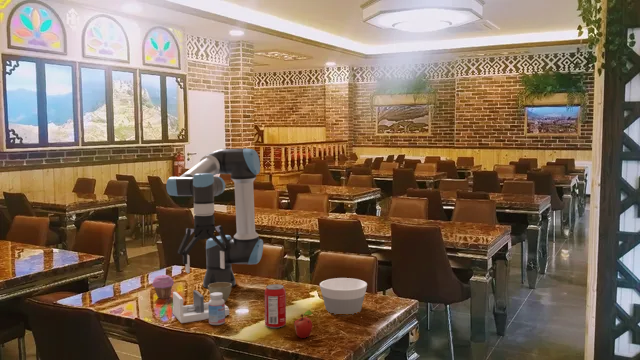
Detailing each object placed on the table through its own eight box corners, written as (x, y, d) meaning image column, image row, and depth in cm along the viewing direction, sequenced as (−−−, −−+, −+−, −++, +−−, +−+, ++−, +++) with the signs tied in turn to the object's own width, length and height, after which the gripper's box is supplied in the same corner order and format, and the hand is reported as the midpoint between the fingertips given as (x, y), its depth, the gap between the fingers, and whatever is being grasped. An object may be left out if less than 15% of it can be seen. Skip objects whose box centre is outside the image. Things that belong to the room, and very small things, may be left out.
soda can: (268, 330, 209) (268, 290, 208) (262, 324, 216) (261, 285, 215) (289, 327, 212) (288, 287, 211) (281, 321, 219) (281, 282, 218)
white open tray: (219, 306, 239) (218, 285, 238) (229, 315, 227) (229, 293, 226) (172, 313, 230) (172, 291, 229) (181, 323, 218) (180, 299, 217)
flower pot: (236, 299, 250) (235, 282, 249) (225, 305, 240) (224, 288, 240) (215, 297, 253) (215, 281, 252) (204, 303, 243) (203, 286, 243)
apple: (290, 339, 200) (289, 311, 199) (297, 333, 206) (297, 305, 206) (310, 342, 197) (310, 313, 196) (318, 335, 204) (317, 307, 203)
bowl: (342, 300, 247) (342, 275, 246) (377, 309, 233) (377, 283, 232) (309, 310, 233) (309, 283, 233) (344, 320, 220) (344, 292, 219)
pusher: (196, 309, 233) (196, 289, 232) (204, 316, 224) (203, 296, 223) (184, 311, 231) (183, 291, 230) (191, 318, 221) (190, 298, 221)
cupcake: (161, 301, 247) (160, 278, 246) (148, 298, 252) (148, 275, 251) (178, 296, 254) (177, 274, 253) (165, 293, 259) (164, 271, 259)
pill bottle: (221, 326, 214) (221, 296, 214) (206, 325, 216) (205, 295, 215) (227, 320, 220) (226, 292, 220) (212, 319, 222) (211, 291, 221)
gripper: (231, 211, 226) (232, 264, 227) (168, 215, 213) (169, 272, 215) (239, 213, 220) (239, 268, 221) (174, 218, 207) (175, 276, 208)
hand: (205, 270), depth 218 cm, fingers open, 13 cm apart
